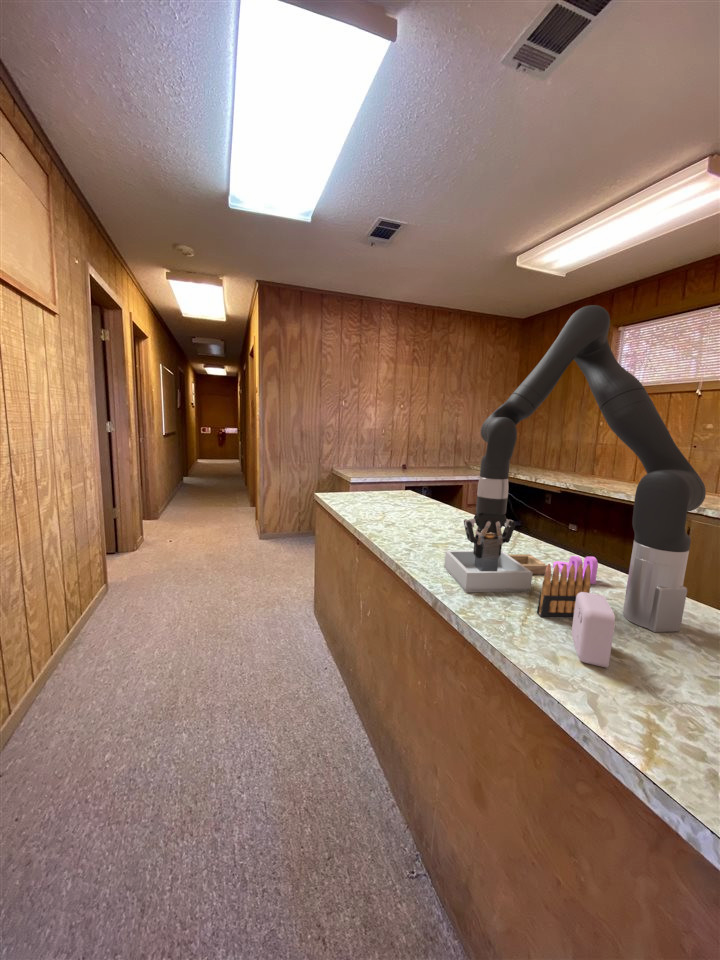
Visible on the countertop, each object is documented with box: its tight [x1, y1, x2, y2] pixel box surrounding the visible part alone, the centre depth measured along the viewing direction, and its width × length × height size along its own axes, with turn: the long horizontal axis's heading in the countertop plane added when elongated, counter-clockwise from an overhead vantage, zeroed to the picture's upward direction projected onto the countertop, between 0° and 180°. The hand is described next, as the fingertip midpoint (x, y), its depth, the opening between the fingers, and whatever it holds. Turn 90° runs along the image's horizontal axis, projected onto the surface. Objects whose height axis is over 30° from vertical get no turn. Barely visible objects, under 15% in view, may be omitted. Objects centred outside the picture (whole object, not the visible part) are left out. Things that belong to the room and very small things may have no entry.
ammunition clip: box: [536, 563, 591, 619], centre depth 83 cm, size 11×2×12 cm, turn 92°
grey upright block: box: [474, 532, 500, 571], centre depth 101 cm, size 4×4×10 cm
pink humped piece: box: [552, 555, 599, 585], centre depth 107 cm, size 13×6×7 cm, turn 2°
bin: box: [443, 550, 533, 593], centre depth 102 cm, size 16×17×5 cm
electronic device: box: [571, 592, 616, 669], centre depth 70 cm, size 10×5×10 cm, turn 159°
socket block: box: [506, 553, 548, 575], centre depth 110 cm, size 9×9×2 cm
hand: (486, 557), depth 101 cm, fingers closed on grey upright block, 4 cm apart
